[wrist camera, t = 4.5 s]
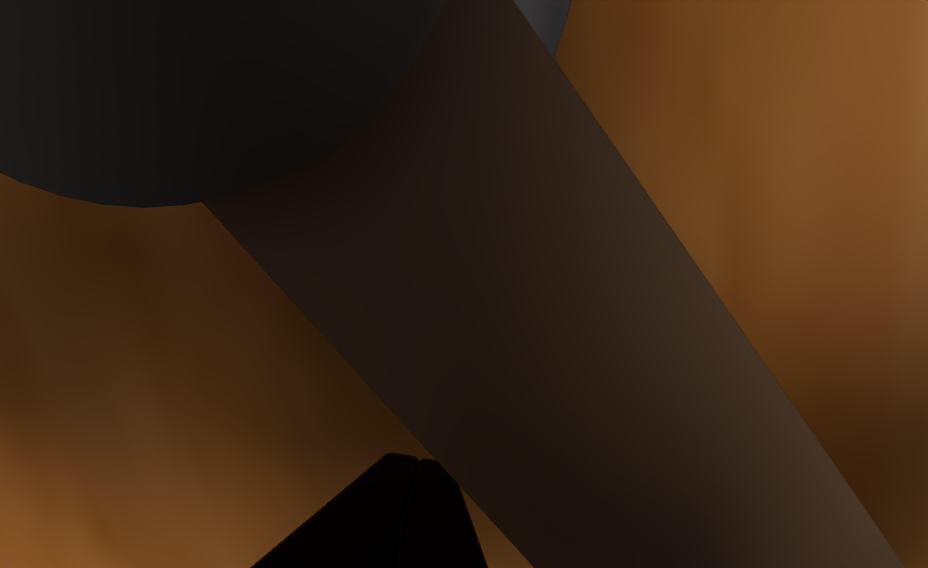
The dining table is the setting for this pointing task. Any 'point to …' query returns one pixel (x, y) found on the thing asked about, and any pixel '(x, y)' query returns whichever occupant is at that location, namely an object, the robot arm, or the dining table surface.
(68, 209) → the dining table surface
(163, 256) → the dining table surface
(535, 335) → the brown square bar
